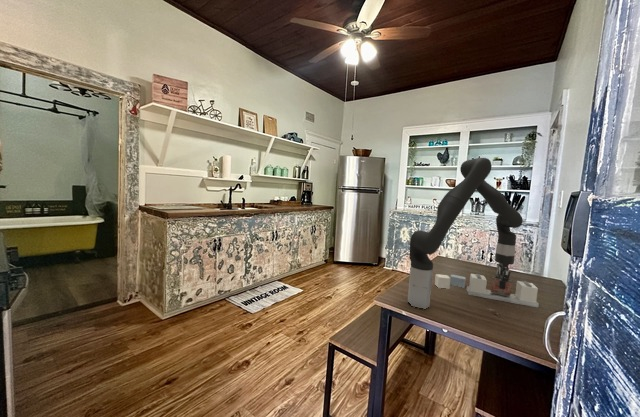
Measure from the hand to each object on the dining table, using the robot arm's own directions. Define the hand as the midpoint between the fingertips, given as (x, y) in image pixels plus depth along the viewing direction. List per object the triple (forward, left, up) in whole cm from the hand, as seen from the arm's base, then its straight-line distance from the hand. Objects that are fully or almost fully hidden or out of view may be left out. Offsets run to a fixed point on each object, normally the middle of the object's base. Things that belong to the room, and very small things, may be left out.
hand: (501, 287), depth 124 cm
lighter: (0, 0, -3) cm, 3 cm away
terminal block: (+8, +18, -6) cm, 21 cm away
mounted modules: (0, 0, -4) cm, 4 cm away
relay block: (+1, +26, -6) cm, 27 cm away
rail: (0, 0, -6) cm, 6 cm away
